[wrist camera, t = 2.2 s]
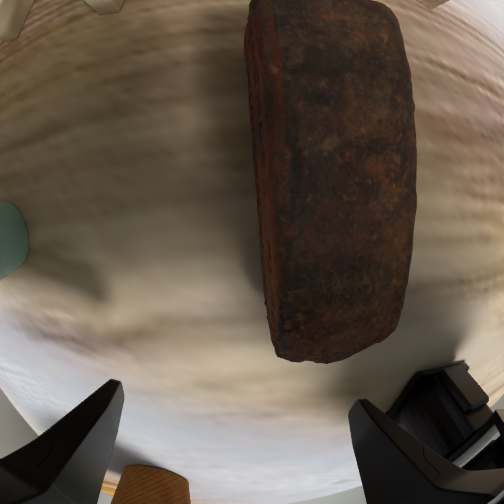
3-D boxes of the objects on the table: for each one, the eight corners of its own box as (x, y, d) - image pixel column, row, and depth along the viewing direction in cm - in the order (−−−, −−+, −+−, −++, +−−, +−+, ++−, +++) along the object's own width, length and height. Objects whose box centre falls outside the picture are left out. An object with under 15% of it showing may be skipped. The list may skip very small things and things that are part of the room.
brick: (240, 47, 8) (246, -20, 4) (340, 50, 8) (400, 3, 4) (261, 306, 12) (277, 386, 7) (348, 294, 12) (396, 360, 7)
